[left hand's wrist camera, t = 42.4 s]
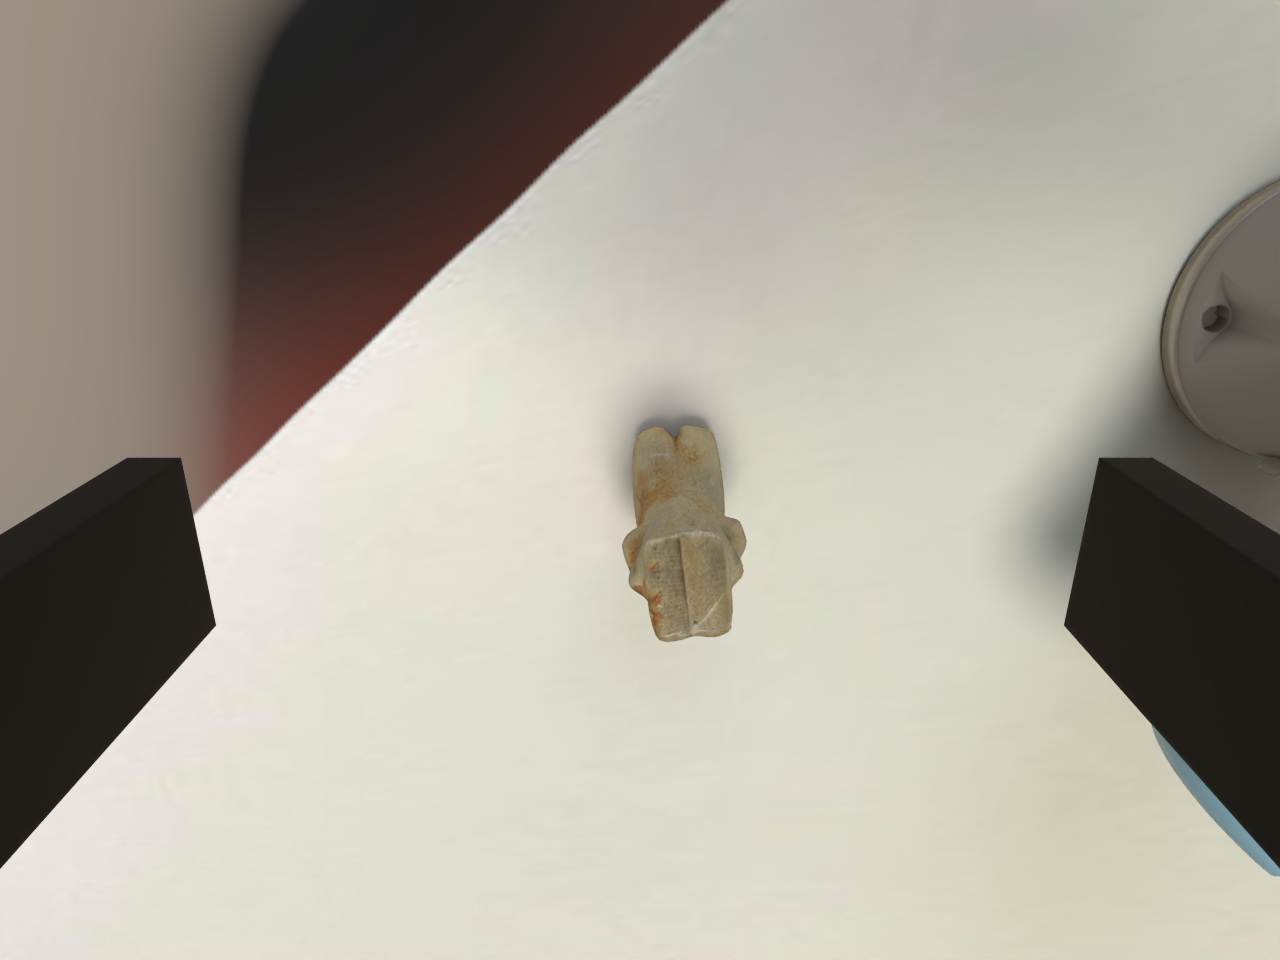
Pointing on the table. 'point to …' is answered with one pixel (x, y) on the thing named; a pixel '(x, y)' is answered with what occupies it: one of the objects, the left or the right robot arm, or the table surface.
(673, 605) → the sculpture
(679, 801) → the table surface
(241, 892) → the table surface
